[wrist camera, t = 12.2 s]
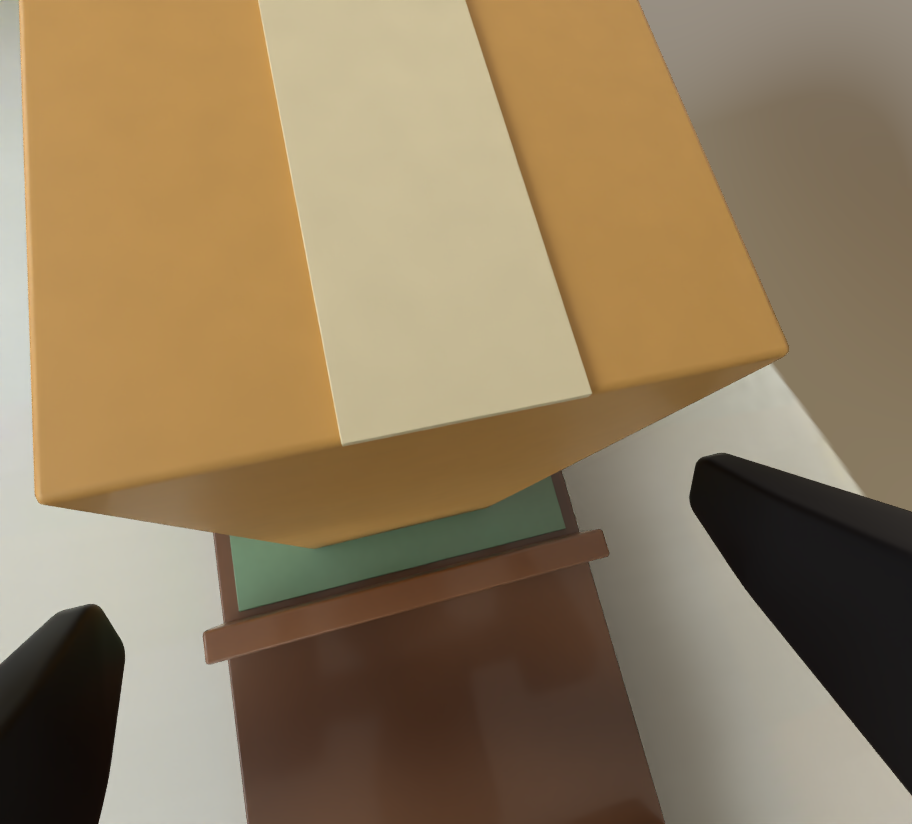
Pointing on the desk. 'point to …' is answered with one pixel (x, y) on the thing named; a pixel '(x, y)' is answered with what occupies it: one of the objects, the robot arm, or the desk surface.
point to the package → (361, 256)
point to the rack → (431, 674)
